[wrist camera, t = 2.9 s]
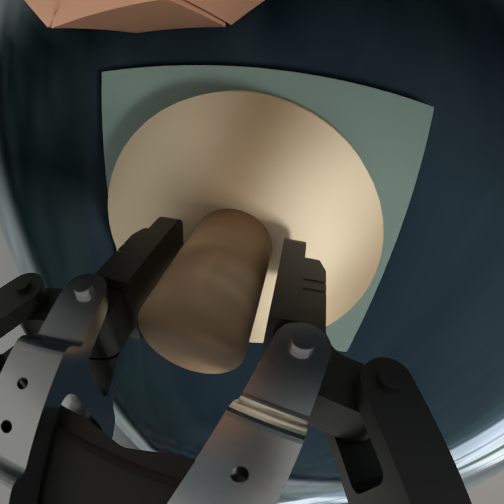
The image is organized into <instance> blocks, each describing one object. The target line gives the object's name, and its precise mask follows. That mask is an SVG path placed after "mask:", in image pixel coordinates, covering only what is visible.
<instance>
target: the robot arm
mask: <svg viewBox="0 0 504 504" xmlns="http://www.w3.org/2000/svg"><path fill="white" fill-rule="evenodd" d="M183 245H184V241H183V223H182V221H181V220H180V219H174V218H168V217H162V216H161V217H159V218H158V219H157V220H156V221H155V222H154V223H153V224H152V225H151V226H150V227H149V228H143V229H141V230H139V231H138V232H136V233H134V234H132V235H131V236H130V237H129V238H128V239H127V240H126V241H125V242H124V244H123V245H122V246H121V247H120V248H119V249H118V251H116V252H115V253H114V254H113V255H112V256H111V257H110V258H109V260H108V261H107V262H106V263H105V264H104V265H103V266H102V267H101V268H100V269H99V271H98V272H97V273H96V274H85V275H80V276H78V277H75V278H73V279H72V280H70V281H69V282H68V283H67V284H66V285H65V286H64V288H63V289H57V288H46V287H45V285H44V282H43V280H42V278H41V276H40V275H38V274H36V273H27V274H23V275H21V276H19V277H17V278H15V279H14V280H12V281H11V282H9V283H7V284H6V285H4V286H3V287H1V288H0V338H1V337H3V336H4V335H5V334H7V333H8V332H10V331H11V330H12V329H14V328H15V327H16V326H18V325H19V324H20V325H21V327H22V329H23V330H24V332H25V334H26V335H23V336H21V337H20V338H19V339H18V340H17V341H16V343H15V344H14V346H13V347H12V348H10V349H9V350H7V351H6V352H5V353H3V354H1V355H0V504H276V503H277V501H278V499H279V497H280V495H281V493H282V490H283V488H284V486H285V484H286V482H287V479H288V477H289V475H290V473H291V470H292V468H293V466H294V463H295V461H296V459H297V456H298V454H299V451H300V449H301V447H302V444H303V441H304V439H305V436H306V433H307V428H308V427H307V425H309V426H312V427H314V428H316V429H318V430H321V431H323V432H325V433H326V436H327V439H328V442H329V445H330V448H331V451H332V454H333V457H334V460H335V463H336V466H337V469H338V472H339V475H340V478H341V481H342V484H343V487H344V491H345V494H346V497H347V500H348V503H349V504H471V501H470V498H469V496H468V493H467V491H466V488H465V486H464V483H463V481H462V479H461V476H460V474H459V472H458V469H457V467H456V465H455V462H454V460H453V458H452V456H451V453H450V451H449V449H448V447H447V445H446V443H445V441H444V438H443V436H442V434H441V432H440V430H439V428H438V426H437V424H436V422H435V420H434V418H433V416H432V414H431V412H430V410H429V408H428V406H427V404H426V402H425V400H424V398H423V396H422V394H421V393H420V391H419V389H418V387H417V385H416V383H415V381H414V380H413V378H412V376H411V374H410V373H409V371H408V370H407V369H406V367H405V366H403V365H402V364H401V363H399V362H398V361H396V360H393V359H390V358H375V359H372V360H370V361H369V362H368V363H366V364H365V365H364V364H361V363H359V362H357V361H354V360H352V359H350V358H347V357H345V356H343V355H342V354H340V353H339V352H338V351H337V350H336V349H335V348H334V347H333V346H332V345H331V342H330V340H329V338H328V336H327V334H326V270H325V268H324V267H323V265H322V263H321V262H320V260H317V259H311V258H306V257H305V254H306V242H304V241H298V240H293V239H287V238H284V243H283V248H282V253H281V258H280V263H279V268H278V273H277V278H276V282H275V287H274V292H273V297H272V302H271V306H270V311H269V316H268V321H267V326H266V331H265V336H264V342H263V347H262V352H261V357H260V362H259V364H258V366H257V368H256V370H255V372H254V373H253V375H252V377H251V379H250V381H249V382H248V384H247V386H246V388H245V390H244V391H243V393H242V395H241V396H240V398H239V399H238V400H234V401H233V402H232V403H231V404H230V406H229V407H228V409H227V410H226V412H225V413H224V415H223V417H222V418H221V420H220V422H219V423H218V425H217V427H216V428H215V430H214V431H213V433H212V435H211V436H210V438H209V440H208V441H207V443H206V444H205V446H204V448H203V449H202V451H201V452H200V454H199V456H198V457H197V459H196V460H195V461H194V460H191V459H187V458H184V457H181V456H178V455H174V454H170V453H160V452H151V451H143V450H136V449H129V448H125V447H122V446H120V445H119V444H118V443H116V442H115V441H114V440H112V436H113V431H114V425H115V415H114V410H113V401H114V396H115V392H116V388H117V384H118V381H119V377H120V373H121V370H122V366H123V362H124V359H125V355H126V346H125V342H126V341H127V339H128V337H132V338H135V339H138V340H141V339H142V338H143V335H142V333H141V331H140V328H139V325H138V314H139V311H140V309H141V307H142V306H143V304H144V303H145V301H146V300H147V298H148V297H149V295H150V293H151V292H152V290H153V289H154V287H155V286H156V284H157V283H158V281H159V280H160V278H161V277H162V275H163V274H164V272H165V271H166V269H167V268H168V267H169V265H170V264H171V262H172V261H173V259H174V258H175V256H176V255H177V253H178V252H179V251H180V249H181V248H182V246H183Z"/></svg>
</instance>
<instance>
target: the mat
mask: <svg viewBox="0 0 504 504" xmlns="http://www.w3.org/2000/svg"><path fill="white" fill-rule="evenodd" d="M229 90H249V91H258V92H264V93H270V94H274V95H277V96H281V97H284V98H287V99H289V100H292V101H295V102H297V103H299V104H301V105H303V106H305V107H307V108H309V109H311V110H313V111H314V112H316V113H317V114H318V115H320V116H321V117H323V118H324V119H325V120H327V121H328V122H330V123H331V124H332V125H333V126H334V127H335V128H336V129H337V130H338V131H339V132H340V133H341V134H342V135H343V136H344V137H345V138H346V139H347V140H348V142H349V143H350V144H351V145H352V147H353V148H354V149H355V151H356V152H357V153H358V155H359V157H360V159H361V160H362V162H363V164H364V166H365V168H366V170H367V171H368V173H369V175H370V177H371V179H372V181H373V183H374V186H375V189H376V192H377V194H378V197H379V200H380V205H381V210H382V216H383V246H382V253H381V257H380V261H379V264H378V267H377V270H376V273H375V275H374V277H373V279H372V281H371V283H370V285H369V287H368V288H367V290H366V291H365V293H364V294H363V295H362V297H361V298H360V299H359V301H358V302H357V303H356V304H355V305H354V306H353V307H352V308H351V309H350V310H349V311H348V312H347V313H345V314H344V315H343V316H342V317H340V318H339V319H338V320H336V321H335V322H333V323H332V324H330V325H328V326H327V327H326V334H327V336H328V338H329V340H330V342H331V345H332V346H333V347H334V348H335V349H336V350H337V351H344V352H347V350H348V348H349V346H350V344H351V342H352V340H353V338H354V336H355V334H356V332H357V330H358V328H359V326H360V324H361V322H362V320H363V318H364V316H365V314H366V311H367V309H368V307H369V305H370V303H371V300H372V298H373V296H374V294H375V291H376V289H377V287H378V285H379V282H380V280H381V278H382V275H383V273H384V270H385V268H386V265H387V263H388V260H389V258H390V255H391V253H392V250H393V248H394V245H395V242H396V240H397V237H398V234H399V231H400V229H401V226H402V223H403V220H404V217H405V214H406V211H407V208H408V205H409V202H410V199H411V196H412V193H413V189H414V186H415V183H416V179H417V176H418V172H419V169H420V165H421V162H422V158H423V154H424V150H425V146H426V142H427V138H428V134H429V129H430V125H431V120H432V116H433V111H434V107H432V106H429V105H427V104H424V103H421V102H418V101H415V100H412V99H409V98H406V97H403V96H400V95H396V94H393V93H390V92H386V91H383V90H379V89H375V88H371V87H368V86H364V85H359V84H355V83H351V82H346V81H342V80H337V79H332V78H327V77H322V76H316V75H310V74H304V73H297V72H290V71H282V70H274V69H264V68H253V67H239V66H217V65H176V66H155V67H141V68H130V69H121V70H113V71H105V72H102V127H103V145H104V159H105V170H106V180H107V189H108V192H109V186H110V181H111V176H112V173H113V170H114V167H115V164H116V162H117V160H118V158H119V156H120V154H121V152H122V150H123V148H124V146H125V145H126V144H127V142H128V141H129V140H130V138H131V137H132V136H133V134H134V133H135V132H136V131H137V130H138V129H139V128H140V127H141V126H142V125H143V124H144V123H145V122H146V121H148V120H149V119H150V118H152V117H153V116H154V115H156V114H157V113H159V112H160V111H162V110H163V109H165V108H167V107H169V106H171V105H173V104H175V103H177V102H180V101H183V100H186V99H189V98H192V97H195V96H199V95H203V94H208V93H214V92H221V91H229ZM116 249H117V248H116Z"/></svg>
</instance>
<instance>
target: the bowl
mask: <svg viewBox="0 0 504 504" xmlns="http://www.w3.org/2000/svg"><path fill="white" fill-rule="evenodd" d="M24 1H25V2H26V3H27V4H28V5H29V6H30V8H31V9H32V10H33V11H34V12H35V13H36V15H37V16H38V17H39V18H40V19H41V20H42V21H43V23H44V24H45V25H46V26H47V27H52V28H84V29H102V30H114V31H123V32H132V33H141V32H149V31H157V30H167V29H179V28H196V27H226V22H227V23H229V24H230V25H232V24H233V23H234V22H236V21H237V20H238V19H240V18H241V17H242V16H244V15H245V14H246V13H248V12H249V11H250V10H252V9H253V8H255V7H256V6H257V5H259V4H260V3H262V2H263V1H265V0H24Z"/></svg>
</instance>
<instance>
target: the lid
mask: <svg viewBox="0 0 504 504" xmlns="http://www.w3.org/2000/svg"><path fill="white" fill-rule="evenodd" d="M108 215H109V224H110V228H111V233H112V237H113V240H114V243H115V245H116V248H117V251H118V249H119V248H120V247H121V246H122V245H123V244H124V242H125V241H126V240H127V239H128V238H129V237H130V236H131V235H132V234H134V233H136V232H138V231H139V230H141V229H143V228H149V227H150V226H151V225H152V224H153V223H154V222H155V221H156V220H157V219H158V218H159V217H161V216H162V217H168V218H174V219H180V220H181V221H182V223H183V241H184V245H183V246H182V248H181V249H180V251H179V252H178V253H177V255H176V256H175V258H174V259H173V261H172V262H171V264H170V265H169V267H168V268H167V269H166V271H165V272H164V274H163V275H162V277H161V278H160V280H159V281H158V283H157V284H156V286H155V287H154V289H153V290H152V292H151V293H150V295H149V297H148V298H147V300H146V301H145V303H144V304H143V306H142V307H141V309H140V311H139V314H138V325H139V328H140V331H141V333H142V335H143V337H144V338H145V340H146V341H147V342H148V344H149V345H150V346H151V347H152V348H153V349H154V350H155V351H156V352H157V353H159V354H160V355H161V356H163V357H164V358H165V359H167V360H169V361H170V362H172V363H174V364H176V365H178V366H180V367H183V368H185V369H188V370H192V371H196V372H201V373H209V374H217V373H224V372H228V371H231V370H233V369H235V368H237V367H238V366H239V365H240V364H241V363H242V362H243V360H244V359H245V355H246V352H247V348H248V344H249V342H255V343H263V342H264V336H265V331H266V326H267V321H268V316H269V311H270V306H271V302H272V297H273V292H274V287H275V282H276V278H277V273H278V268H279V263H280V258H281V253H282V248H283V243H284V238H287V239H293V240H298V241H304V242H306V254H305V257H306V258H311V259H317V260H320V262H321V263H322V265H323V267H324V268H325V270H326V327H327V326H328V325H330V324H332V323H333V322H335V321H336V320H338V319H339V318H340V317H342V316H343V315H344V314H345V313H347V312H348V311H349V310H350V309H351V308H352V307H353V306H354V305H355V304H356V303H357V302H358V301H359V299H360V298H361V297H362V295H363V294H364V293H365V291H366V290H367V288H368V287H369V285H370V283H371V281H372V279H373V277H374V275H375V273H376V270H377V267H378V264H379V261H380V257H381V253H382V246H383V216H382V210H381V205H380V200H379V197H378V194H377V192H376V189H375V186H374V183H373V181H372V179H371V177H370V175H369V173H368V171H367V170H366V168H365V166H364V164H363V162H362V160H361V159H360V157H359V155H358V153H357V152H356V151H355V149H354V148H353V147H352V145H351V144H350V143H349V142H348V140H347V139H346V138H345V137H344V136H343V135H342V134H341V133H340V132H339V131H338V130H337V129H336V128H335V127H334V126H333V125H332V124H331V123H330V122H328V121H327V120H325V119H324V118H323V117H321V116H320V115H318V114H317V113H316V112H314V111H313V110H311V109H309V108H307V107H305V106H303V105H301V104H299V103H297V102H295V101H292V100H289V99H287V98H284V97H281V96H277V95H274V94H270V93H264V92H258V91H249V90H229V91H221V92H214V93H208V94H203V95H199V96H195V97H192V98H189V99H186V100H183V101H180V102H177V103H175V104H173V105H171V106H169V107H167V108H165V109H163V110H162V111H160V112H159V113H157V114H156V115H154V116H153V117H152V118H150V119H149V120H148V121H146V122H145V123H144V124H143V125H142V126H141V127H140V128H139V129H138V130H137V131H136V132H135V133H134V134H133V136H132V137H131V138H130V140H129V141H128V142H127V144H126V145H125V146H124V148H123V150H122V152H121V154H120V156H119V158H118V160H117V162H116V164H115V167H114V170H113V173H112V176H111V181H110V186H109V192H108Z"/></svg>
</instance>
